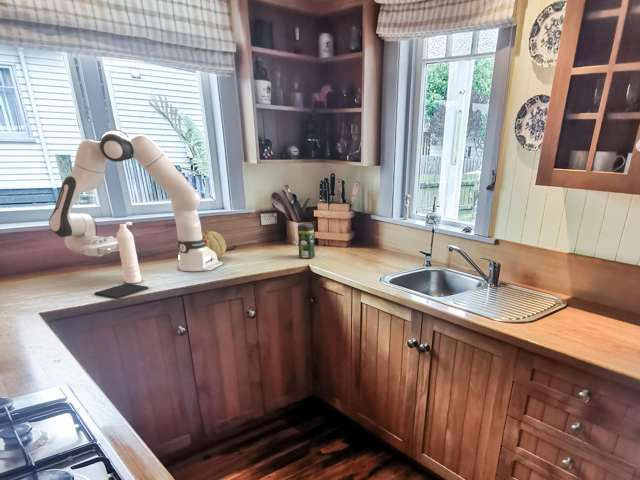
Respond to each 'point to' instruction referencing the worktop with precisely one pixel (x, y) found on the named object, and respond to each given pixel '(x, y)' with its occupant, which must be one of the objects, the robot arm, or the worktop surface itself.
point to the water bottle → (128, 254)
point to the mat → (121, 290)
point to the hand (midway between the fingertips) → (119, 249)
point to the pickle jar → (306, 240)
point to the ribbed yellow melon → (215, 242)
